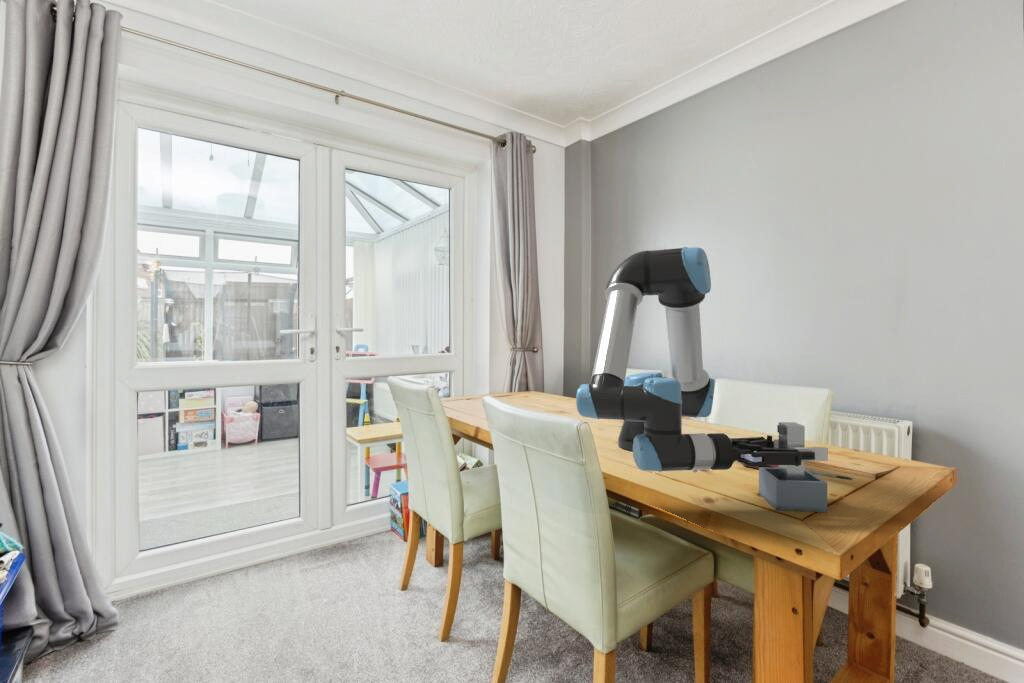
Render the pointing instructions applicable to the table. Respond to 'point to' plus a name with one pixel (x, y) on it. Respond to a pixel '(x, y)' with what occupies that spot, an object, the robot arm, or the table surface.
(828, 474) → the screwdriver
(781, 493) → the caddy
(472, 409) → the table surface
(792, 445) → the brushed metal post
